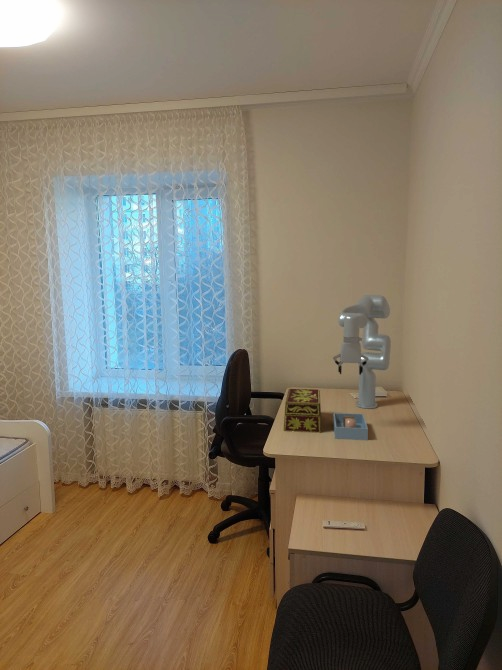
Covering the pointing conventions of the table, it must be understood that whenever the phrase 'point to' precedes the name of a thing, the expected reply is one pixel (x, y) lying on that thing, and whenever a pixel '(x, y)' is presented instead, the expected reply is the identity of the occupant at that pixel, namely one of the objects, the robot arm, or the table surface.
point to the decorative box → (303, 411)
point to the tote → (350, 433)
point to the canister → (350, 423)
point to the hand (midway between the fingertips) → (350, 373)
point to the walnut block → (345, 418)
